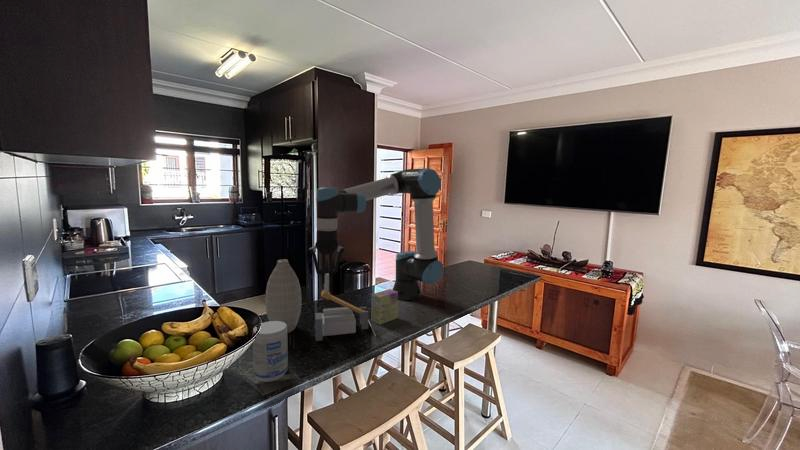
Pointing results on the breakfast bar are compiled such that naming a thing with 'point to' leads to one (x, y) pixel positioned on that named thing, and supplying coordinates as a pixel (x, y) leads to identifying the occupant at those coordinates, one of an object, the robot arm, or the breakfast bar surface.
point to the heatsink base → (342, 321)
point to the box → (384, 306)
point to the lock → (319, 326)
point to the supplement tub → (270, 351)
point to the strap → (340, 302)
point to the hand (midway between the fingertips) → (326, 291)
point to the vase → (283, 295)
